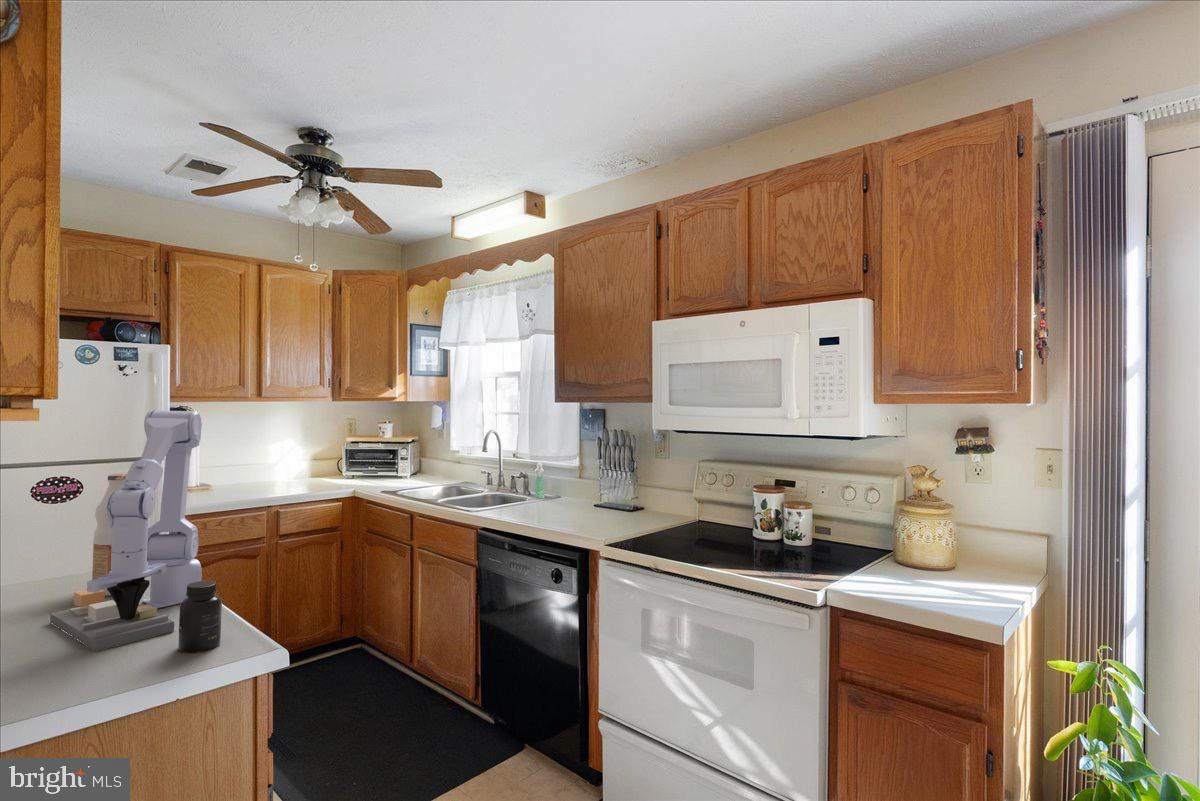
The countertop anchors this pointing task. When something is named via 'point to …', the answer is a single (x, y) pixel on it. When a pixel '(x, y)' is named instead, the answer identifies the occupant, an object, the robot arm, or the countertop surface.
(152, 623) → the grey ridged tray
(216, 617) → the supplement bottle
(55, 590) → the countertop surface
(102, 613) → the off-white button
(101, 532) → the fruit juice
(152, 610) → the wood grain block
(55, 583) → the countertop surface
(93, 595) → the orange button
